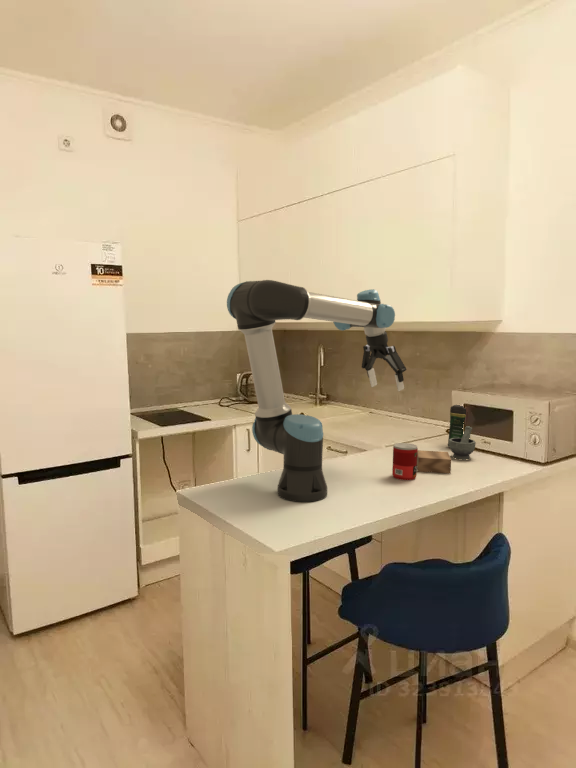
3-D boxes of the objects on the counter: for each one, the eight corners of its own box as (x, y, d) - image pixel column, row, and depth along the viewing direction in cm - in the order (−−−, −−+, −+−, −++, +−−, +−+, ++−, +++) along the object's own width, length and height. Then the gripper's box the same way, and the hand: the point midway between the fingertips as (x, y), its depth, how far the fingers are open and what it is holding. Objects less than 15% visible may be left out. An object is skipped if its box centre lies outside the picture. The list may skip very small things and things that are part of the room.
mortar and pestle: (466, 462, 203) (468, 431, 201) (444, 457, 209) (445, 427, 208) (480, 457, 211) (481, 427, 209) (457, 452, 217) (459, 423, 216)
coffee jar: (464, 451, 220) (466, 406, 218) (445, 448, 225) (447, 404, 223) (472, 447, 228) (475, 403, 225) (454, 444, 233) (456, 401, 230)
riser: (418, 471, 190) (418, 457, 189) (416, 463, 200) (416, 450, 200) (450, 473, 188) (451, 459, 187) (447, 465, 198) (447, 451, 198)
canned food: (418, 480, 179) (419, 448, 177) (394, 480, 179) (395, 447, 178) (413, 474, 186) (415, 443, 185) (390, 473, 187) (391, 442, 185)
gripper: (409, 330, 185) (420, 387, 191) (359, 328, 205) (370, 380, 211) (394, 337, 181) (406, 395, 187) (344, 335, 201) (357, 387, 207)
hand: (387, 387), depth 199 cm, fingers open, 13 cm apart
